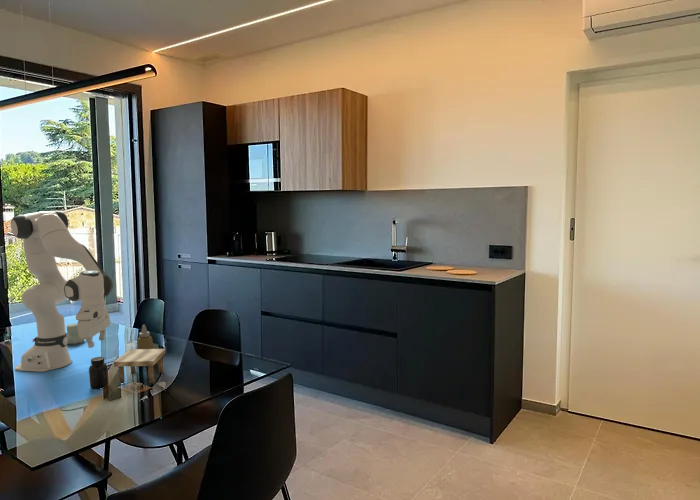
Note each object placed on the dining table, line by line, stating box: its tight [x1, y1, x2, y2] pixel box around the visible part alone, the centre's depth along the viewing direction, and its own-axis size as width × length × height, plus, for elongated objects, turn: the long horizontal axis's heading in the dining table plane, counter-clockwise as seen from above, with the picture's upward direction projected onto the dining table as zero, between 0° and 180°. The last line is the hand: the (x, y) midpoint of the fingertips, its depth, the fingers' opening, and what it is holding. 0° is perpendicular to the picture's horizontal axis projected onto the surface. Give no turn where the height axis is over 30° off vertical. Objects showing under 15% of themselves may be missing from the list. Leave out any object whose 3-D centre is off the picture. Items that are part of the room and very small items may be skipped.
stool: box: [113, 348, 167, 384], centre depth 214 cm, size 16×16×10 cm
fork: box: [155, 381, 167, 390], centre depth 201 cm, size 3×21×3 cm, turn 43°
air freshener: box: [66, 322, 85, 345], centre depth 263 cm, size 11×8×10 cm
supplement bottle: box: [88, 356, 110, 390], centre depth 204 cm, size 7×7×12 cm
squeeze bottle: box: [136, 324, 155, 349], centre depth 232 cm, size 8×8×18 cm
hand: (96, 343), depth 203 cm, fingers open, 8 cm apart
